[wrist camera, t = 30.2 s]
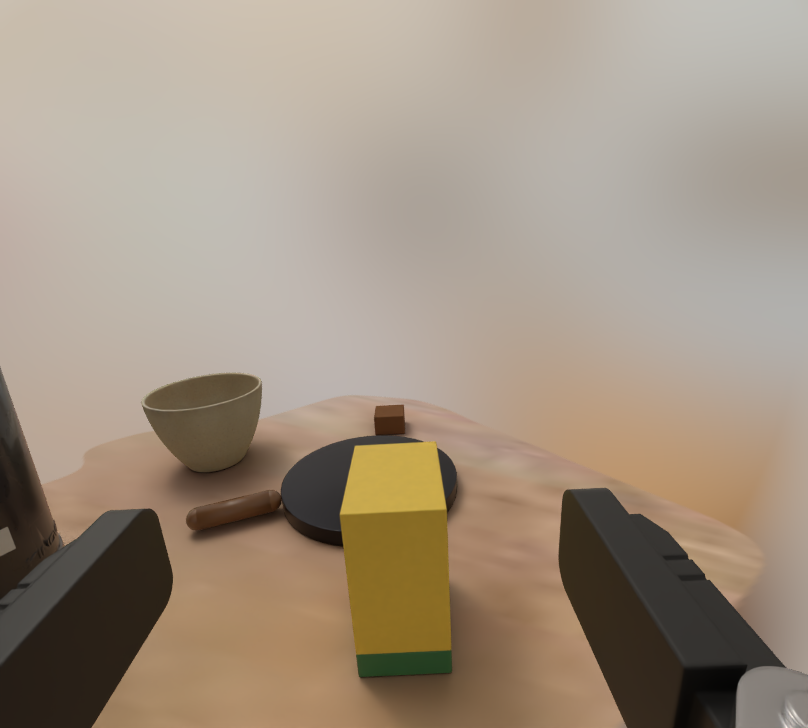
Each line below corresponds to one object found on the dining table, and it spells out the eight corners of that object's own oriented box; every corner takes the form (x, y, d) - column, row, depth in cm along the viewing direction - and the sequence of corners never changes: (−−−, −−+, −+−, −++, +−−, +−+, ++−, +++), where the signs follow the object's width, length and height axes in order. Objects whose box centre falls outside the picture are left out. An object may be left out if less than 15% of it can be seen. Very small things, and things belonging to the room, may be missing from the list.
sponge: (358, 677, 21) (339, 514, 18) (368, 580, 26) (354, 445, 24) (452, 673, 20) (446, 509, 18) (441, 576, 26) (435, 441, 24)
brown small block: (375, 435, 45) (374, 417, 44) (377, 422, 48) (375, 405, 47) (404, 433, 45) (403, 415, 44) (404, 421, 48) (403, 404, 47)
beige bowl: (280, 468, 39) (268, 394, 37) (155, 501, 36) (134, 420, 33) (265, 427, 48) (254, 365, 46) (163, 449, 44) (147, 383, 42)
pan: (177, 607, 25) (170, 582, 25) (196, 484, 38) (192, 465, 37) (490, 513, 32) (490, 491, 31) (417, 435, 44) (417, 418, 44)
